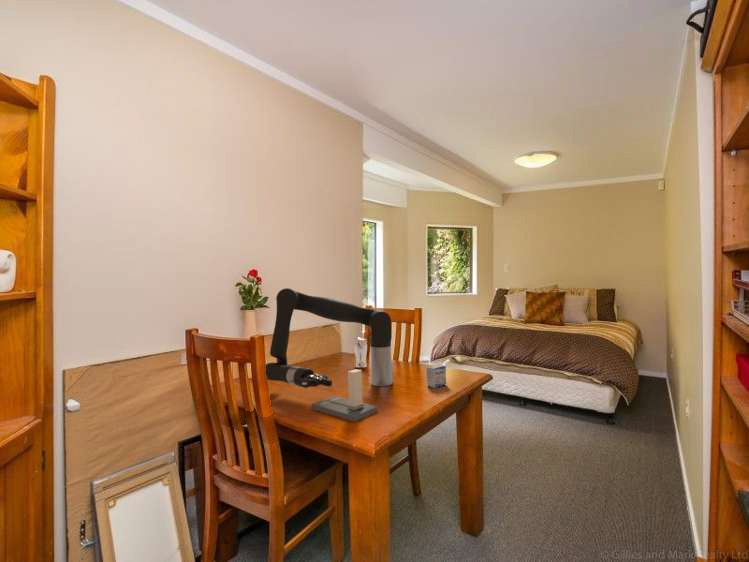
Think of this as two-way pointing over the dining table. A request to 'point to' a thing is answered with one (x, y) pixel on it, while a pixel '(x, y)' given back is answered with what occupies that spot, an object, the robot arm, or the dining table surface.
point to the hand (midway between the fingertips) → (330, 383)
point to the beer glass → (360, 352)
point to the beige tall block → (355, 389)
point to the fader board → (343, 408)
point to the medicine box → (436, 376)
